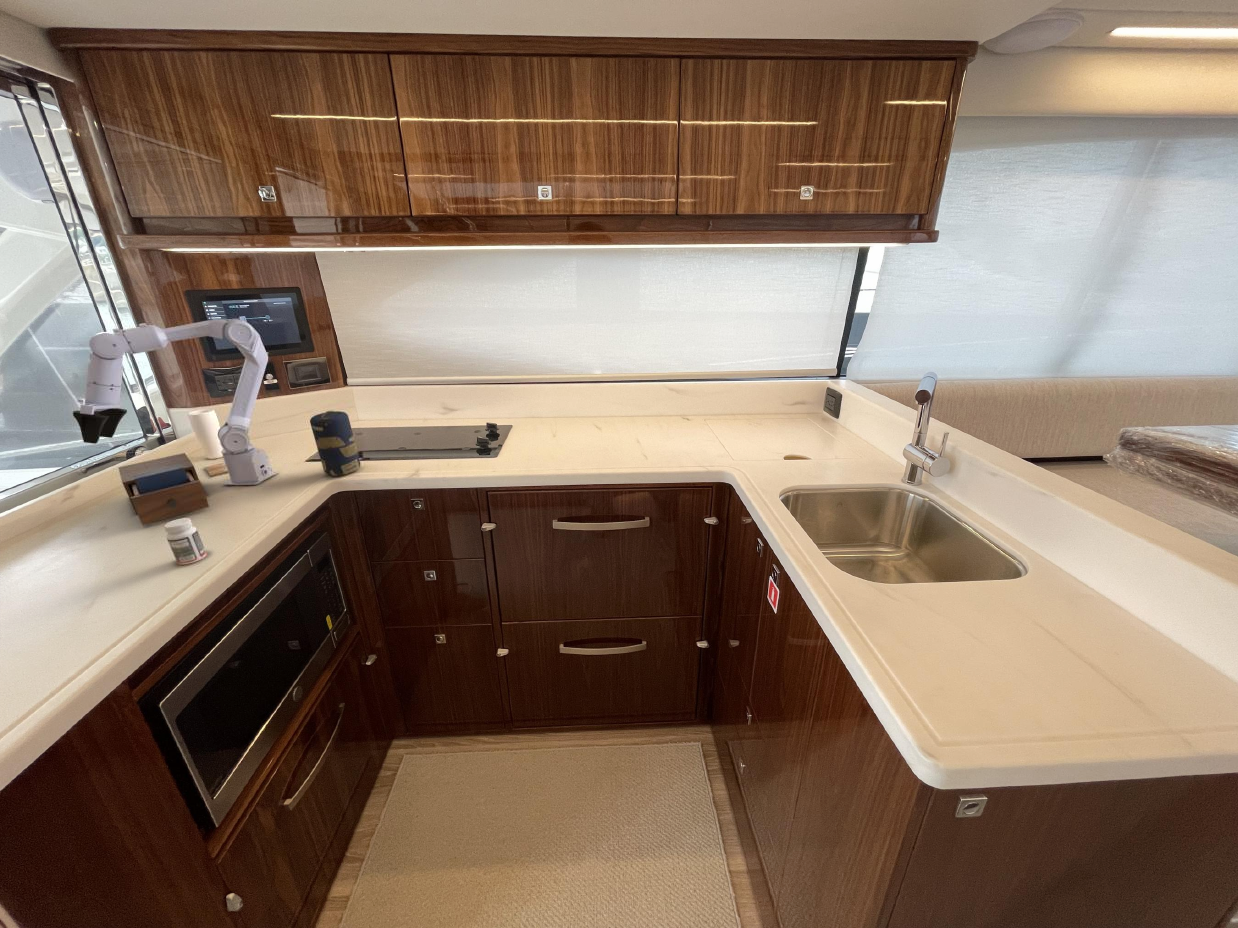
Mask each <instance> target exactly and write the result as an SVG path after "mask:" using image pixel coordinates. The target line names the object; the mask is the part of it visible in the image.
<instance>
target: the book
mask: <svg viewBox="0 0 1238 928" xmlns="http://www.w3.org/2000/svg"><path fill="white" fill-rule="evenodd" d="M133 477H134V480H135V482H136V484H137V487H138V489H139V491H140V493H141V494H145V493H149V492H153V491H157V490H161V489H165V488H169V487H173V486H177V485H181V484H185V483H189V480H188V478H187V475H186V473H185V470H184V468H183V466H182V465H178V466H173V467H169V468H165V469H160V470H156V471H152V472H147V473H143V474H139V475H134V476H133Z"/></svg>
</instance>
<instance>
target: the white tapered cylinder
mask: <svg viewBox="0 0 1238 928" xmlns="http://www.w3.org/2000/svg"><path fill="white" fill-rule="evenodd" d="M187 417H188V420H189V423H190V425H191V428H192V430H193V432H194V433H195V436H196V438H197V440H198V442H199V444H200V446H201V448H202V450H203V452H204V455H205V457H206V459H209V460H215V459H220V458H223V455H222V453H221V451H222V450H223V447H222V446H221V444H220V440H219V438H218V431H219V429H220V428H221V425H220V421H219V419H218V415H217V413H216V411H215V409H214V408H204V409H197V410H192V411H190V412H188V413H187Z"/></svg>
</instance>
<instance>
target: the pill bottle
mask: <svg viewBox="0 0 1238 928" xmlns="http://www.w3.org/2000/svg"><path fill="white" fill-rule="evenodd" d="M163 527H164V530H165V532H166V533H167V534H166V535H165V536H166V540H167V542H168V545H169V548H170V549H171V552H172V553H173V554H172V555H173V556H174V558H175V561H176V563H177V564H178V565H183V566H185V565H190V564H194V563H197V562H198V561H200V560H202V559H204V558H205V557H206V556H207V551H206V549H205V546H204V543H203V541H202V539H201V537H200V536H201V535H200V534H199V531H198V529H197V527H195V526H194V525H193V522H192V520H191V518H188V517H183V518H177V519H174V520H170V521H168V522H167V523H165V524H164V526H163Z"/></svg>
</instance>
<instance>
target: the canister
mask: <svg viewBox="0 0 1238 928" xmlns="http://www.w3.org/2000/svg"><path fill="white" fill-rule="evenodd" d="M309 423H310V428H311V431H312V434H313V437H314V442H315V445H316V449H317V453H318V456H319V459H320V462H321V466H322V470H323V472H324V474H326V475H328V476H333V477H334V476H336V477H337V476H342V475H347V474H352V473H353V472H357V470H359V469H360V468H361V460H360V457H359V453H358V448H357V444H356V441H355V440H356V438H355V435H354V433H353V429H352V425H351V421H350V418H349V415H348V414H347V413H346V412H345V411H339V410H337V411H336V410H326V411H325V412H321V413H318V414H315V415H313V416H311V418H310V419H309Z"/></svg>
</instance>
